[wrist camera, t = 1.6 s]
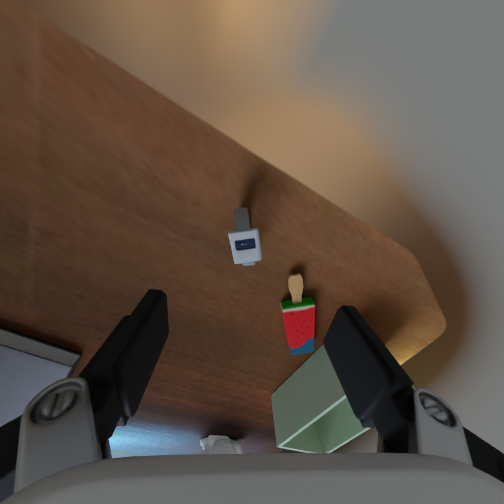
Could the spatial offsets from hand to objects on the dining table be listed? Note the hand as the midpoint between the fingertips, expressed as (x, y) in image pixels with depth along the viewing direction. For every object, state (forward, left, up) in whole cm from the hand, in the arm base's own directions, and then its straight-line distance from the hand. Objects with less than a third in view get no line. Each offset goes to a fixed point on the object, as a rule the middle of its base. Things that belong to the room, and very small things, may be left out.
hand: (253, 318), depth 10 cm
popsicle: (-9, +12, -13) cm, 20 cm away
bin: (-18, +26, -13) cm, 34 cm away
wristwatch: (0, 0, -13) cm, 13 cm away
